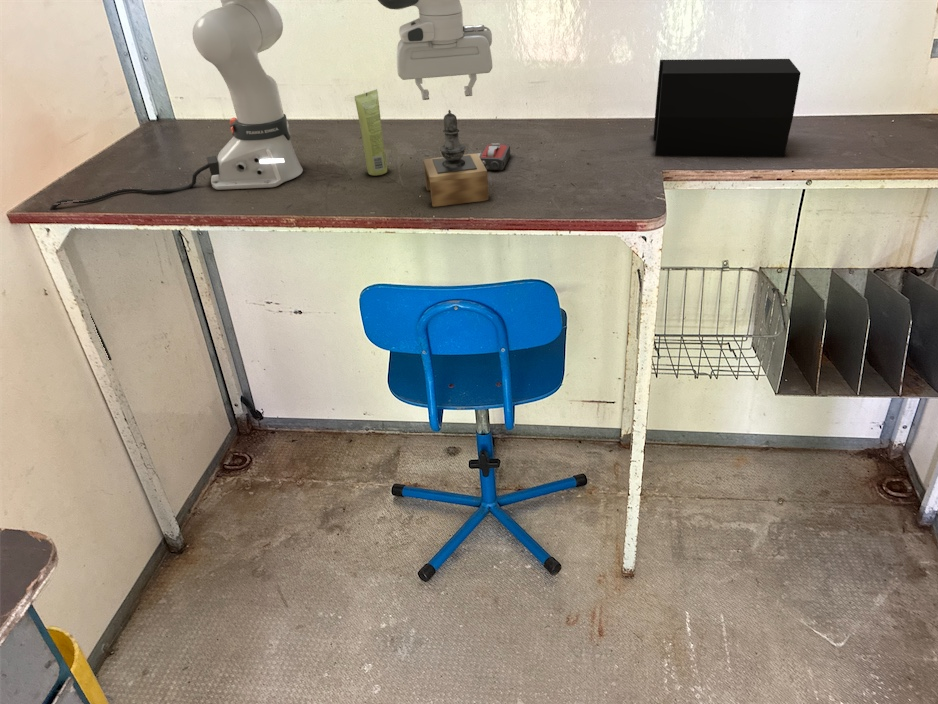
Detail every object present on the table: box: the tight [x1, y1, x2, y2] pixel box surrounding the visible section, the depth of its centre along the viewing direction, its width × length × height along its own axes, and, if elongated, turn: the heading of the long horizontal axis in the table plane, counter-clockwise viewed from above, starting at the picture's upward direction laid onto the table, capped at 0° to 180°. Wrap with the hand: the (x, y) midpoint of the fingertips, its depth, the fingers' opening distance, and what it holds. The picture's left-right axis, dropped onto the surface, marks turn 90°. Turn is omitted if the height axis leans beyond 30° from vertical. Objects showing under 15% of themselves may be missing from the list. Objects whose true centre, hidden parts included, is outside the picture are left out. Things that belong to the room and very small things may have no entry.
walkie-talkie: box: [477, 142, 511, 171], centre depth 179 cm, size 9×4×20 cm
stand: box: [422, 152, 489, 208], centre depth 165 cm, size 13×12×7 cm
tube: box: [354, 88, 388, 176], centre depth 174 cm, size 6×5×20 cm
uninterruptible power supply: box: [652, 58, 801, 158], centre depth 181 cm, size 16×34×20 cm, turn 83°
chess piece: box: [439, 109, 466, 168], centre depth 159 cm, size 6×6×12 cm
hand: (447, 97), depth 154 cm, fingers open, 8 cm apart
